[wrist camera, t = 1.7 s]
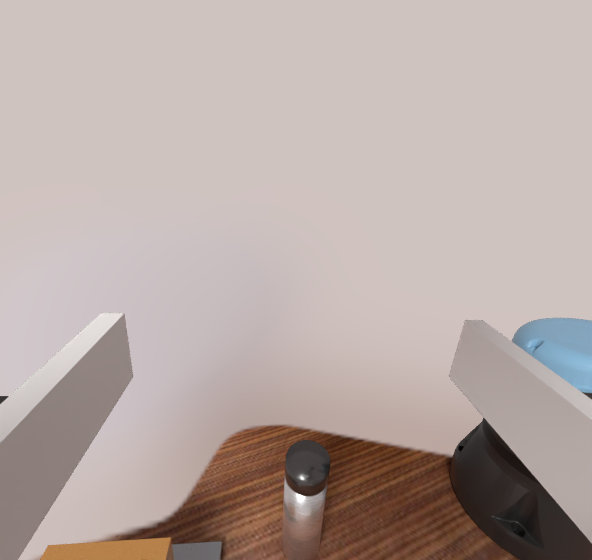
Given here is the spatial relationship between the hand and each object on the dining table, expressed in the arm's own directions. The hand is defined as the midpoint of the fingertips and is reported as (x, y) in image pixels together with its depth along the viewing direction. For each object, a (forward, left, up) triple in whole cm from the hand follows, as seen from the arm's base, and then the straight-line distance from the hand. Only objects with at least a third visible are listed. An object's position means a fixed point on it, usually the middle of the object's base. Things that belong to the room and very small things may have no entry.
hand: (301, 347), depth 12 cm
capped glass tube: (-3, -10, -30) cm, 32 cm away
